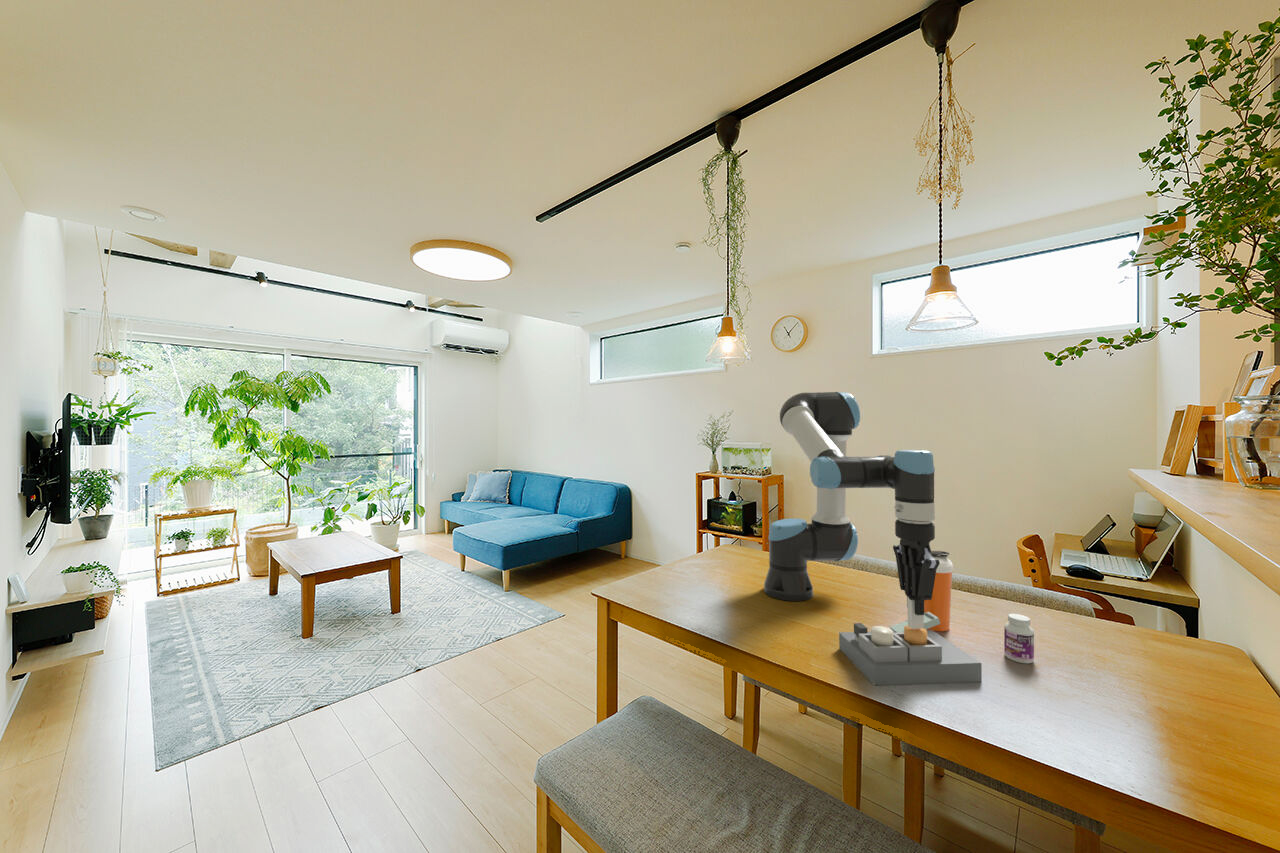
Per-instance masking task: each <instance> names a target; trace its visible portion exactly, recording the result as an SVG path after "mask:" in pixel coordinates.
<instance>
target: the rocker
mask: <svg viewBox="0 0 1280 853" xmlns="http://www.w3.org/2000/svg"><path fill="white" fill-rule="evenodd" d="M939 624H940V621H939V618H938V617H936V616H935V615H933V614H931V613H930V612H926V613H924V629H926V630H929V628H931V627H934V626H936V625H939ZM907 625H908V619H907V620H904V621H901V622H899V623H897V624H894V625H891V626H890V627H889V629H891V630H892V631H893V632H894V633H901V632H904V626H907Z"/></svg>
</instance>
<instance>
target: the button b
mask: <svg viewBox="0 0 1280 853" xmlns="http://www.w3.org/2000/svg"><path fill="white" fill-rule="evenodd" d="M927 630H928V629H911V628H910V627H908V625H907V626H904V640H905V641H906V642H907V643H909V644H910V645H927Z"/></svg>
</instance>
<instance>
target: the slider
mask: <svg viewBox="0 0 1280 853" xmlns="http://www.w3.org/2000/svg"><path fill="white" fill-rule="evenodd" d="M853 632H854V634H855V635H856V636H857V637H859V634H866V633H868V632H869V631H868V627H867V626H866V625H864V624H863V623H862V622H854V623H853Z"/></svg>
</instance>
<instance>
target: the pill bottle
mask: <svg viewBox="0 0 1280 853" xmlns="http://www.w3.org/2000/svg"><path fill="white" fill-rule="evenodd" d="M1007 620H1008V622H1006V623H1005V624H1004V629H1003V630H1004V634H1003V636H1004V641H1003V642H1004V644H1003V648H1004V649H1003V650H1004V656H1005V657H1006V658H1007V659H1009V660H1011V661H1014V662H1017V663H1020V664H1031V663H1034V661H1035V631H1034V629H1033V628H1032V627H1031V618H1030V617H1028V616H1026V615H1023V614H1019V613H1018V614H1017V613H1009V614H1008V616H1007Z"/></svg>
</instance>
